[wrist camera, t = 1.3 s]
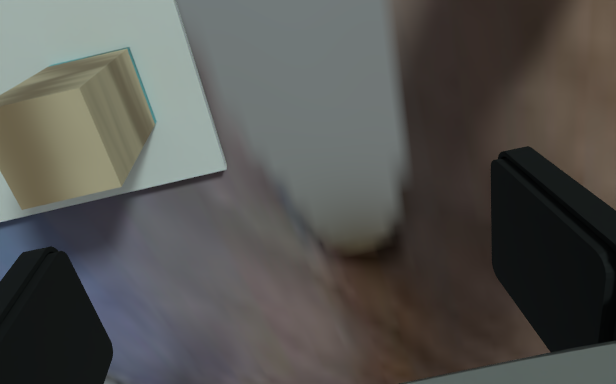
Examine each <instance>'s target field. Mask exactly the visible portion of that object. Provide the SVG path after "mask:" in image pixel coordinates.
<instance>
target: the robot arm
mask: <svg viewBox="0 0 616 384" xmlns="http://www.w3.org/2000/svg"><path fill="white" fill-rule="evenodd" d="M491 221H492V265H493V269H494V272H495V275H496V277H497V278H498V280H499V281H500V282H501V284H502V285H503V287H504V288H505V289H506V291H507V292H508V294H509V295H510V296H511V298H512V299H513V300H514V302H515V303H516V305H517V306H518V307H519V309H520V310H521V312H522V313H523V314H524V316H525V317H526V319H527V320H528V321H529V323H530V324H531V325H532V327H533V328H534V330H535V331H536V332H537V334H538V335H539V337H540V338H541V339H542V341H543V342H544V344H545V345H546V346H547V348H548V349H549V350H550V352H551V353H546V354H541V355H536V356H531V357H526V358H521V359H517V360H512V361H507V362H502V363H497V364H492V365H487V366H482V367H477V368H473V369H468V370H463V371H458V372H453V373H448V374H443V375H438V376H433V377H429V378H424V379H419V380H414V381H409V382H404V383H399V384H616V211H615V210H614V209H613V208H611V207H610V206H609V205H607V204H606V203H605V202H603V201H602V200H601V199H599V198H598V197H597V196H595V195H594V194H593V193H591V192H590V191H589V190H587V189H586V188H585V187H583V186H582V185H581V184H579V183H578V182H577V181H575V180H574V179H573V178H571V177H570V176H568V175H567V174H566V173H564V172H563V171H562V170H560V169H559V168H558V167H556V166H555V165H554V164H552V163H551V162H550V161H548V160H547V159H546V158H544V157H543V156H542V155H540V154H539V153H538V152H536V151H535V150H534V149H532V148H531V147H528V146H527V147H522V148H518V149H513V150H508V151H503V152H501V153H500V154H499V157H498V159H497V160H493V161H492V163H491ZM112 357H113V348H112V343H111V341H110V339H109V337H108V335H107V333H106V331H105V329H104V327H103V325H102V323H101V321H100V319H99V317H98V315H97V313H96V311H95V309H94V307H93V305H92V303H91V301H90V299H89V297H88V295H87V293H86V291H85V289H84V287H83V285H82V283H81V281H80V279H79V277H78V275H77V273H76V271H75V269H74V267H73V265H72V263H71V261H70V259H69V257H68V256H67V254H66V253H65V252H63V251H59V252H58V250H57V249H56V248H54V247H46V248H42V249H37V250H32V251H27V252H23V253H22V254H21V255H20V256H19V257H18V259H17V260H16V261H15V263H14V264H13V265H12V267H11V268H10V269H9V271H8V272H7V273H6V275H5V276H4V277H3V279H2V280H1V281H0V384H104V381H105V378H106V375H107V372H108V369H109V366H110V364H111V361H112Z"/></svg>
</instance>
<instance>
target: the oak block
mask: <svg viewBox="0 0 616 384" xmlns="http://www.w3.org/2000/svg"><path fill="white" fill-rule="evenodd" d="M156 122H157V121H156V118H155V116H154V113H153V110H152V107H151V105H150V102H149V99H148V97H147V94H146V91H145V88H144V86H143V83H142V80H141V77H140V75H139V72H138V69H137V67H136V64H135V61H134V58H133V56H132V53H131V50H130V47H126V48H122V49H118V50H113V51H109V52H105V53H101V54H96V55H92V56H88V57H83V58H79V59H75V60H70V61H66V62H62V63H57V64H53V65H50V66H48V67H47V68H45V69H43V70H42V71H40V72H38V73H37V74H35V75H33V76H32V77H30V78H28V79H27V80H25V81H23V82H21V83H20V84H18V85H16V86H15V87H13V88H11V89H10V90H8V91H6V92H5V93H3V94H1V95H0V171H1V173H2V175H3V177H4V179H5V180H6V182H7V184H8V186H9V188H10V189H11V191H12V193H13V195H14V197H15V199H16V200H17V202H18V204H19V206H20V208H21V209H22V210H24V209H28V208H33V207H37V206H41V205H46V204H50V203H54V202H59V201H63V200H67V199H71V198H76V197H80V196H84V195H89V194H93V193H97V192H102V191H106V190H110V189H115V188H119V187H122V185H123V183H124V182H125V180H126V178H127V176H128V174H129V172H130V170H131V169H132V167H133V165H134V163H135V161H136V159H137V157H138V156H139V154H140V152H141V150H142V148H143V146H144V144H145V143H146V141H147V139H148V137H149V135H150V133H151V131H152V130H153V128H154V126H155V124H156Z"/></svg>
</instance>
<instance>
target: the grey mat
mask: <svg viewBox="0 0 616 384" xmlns="http://www.w3.org/2000/svg"><path fill="white" fill-rule="evenodd" d="M126 47H130V50H131V53H132V56H133V58H134V61H135V64H136V67H137V69H138V72H139V75H140V77H141V80H142V83H143V86H144V88H145V91H146V94H147V97H148V99H149V102H150V105H151V107H152V110H153V113H154V116H155V118H156V121H157V122H156V124H155V126H154V128H153V130H152V131H151V133H150V135H149V137H148V139H147V141H146V143H145V144H144V146H143V148H142V150H141V152H140V154H139V156H138V157H137V159H136V161H135V163H134V165H133V167H132V169H131V170H130V172H129V174H128V176H127V178H126V180H125V182H124V183H123V185H122V187H119V188H115V189H110V190H106V191H102V192H97V193H93V194H89V195H84V196H80V197H76V198H71V199H67V200H63V201H59V202H54V203H50V204H46V205H41V206H37V207H33V208H28V209H24V210H22V209H21V208H20V206H19V204H18V202H17V200H16V199H15V197H14V195H13V193H12V191H11V189H10V188H9V186H8V184H7V182H6V180H5V179H4V177H3V175H2V173H1V171H0V222H3V221H7V220H12V219H16V218H20V217H25V216H29V215H33V214H38V213H42V212H46V211H50V210H55V209H59V208H63V207H68V206H72V205H76V204H81V203H85V202H89V201H94V200H98V199H102V198H106V197H111V196H115V195H119V194H124V193H128V192H132V191H137V190H141V189H145V188H150V187H154V186H158V185H162V184H167V183H171V182H175V181H180V180H184V179H188V178H193V177H197V176H201V175H206V174H210V173H214V172H218V171H223V170H226V169H227V164H226V161H225V157H224V154H223V151H222V148H221V145H220V141H219V138H218V135H217V132H216V128H215V125H214V122H213V119H212V116H211V112H210V109H209V106H208V103H207V99H206V96H205V93H204V90H203V87H202V83H201V80H200V77H199V74H198V70H197V67H196V64H195V61H194V58H193V54H192V51H191V48H190V45H189V41H188V38H187V35H186V32H185V29H184V25H183V22H182V19H181V16H180V12H179V9H178V6H177V3H176V0H0V95H1V94H3V93H5V92H6V91H8V90H10V89H11V88H13V87H15V86H16V85H18V84H20V83H21V82H23V81H25V80H27V79H28V78H30V77H32V76H33V75H35V74H37V73H38V72H40V71H42V70H43V69H45V68H47V67H48V66H50V65H53V64H57V63H62V62H66V61H70V60H75V59H79V58H83V57H88V56H92V55H96V54H101V53H105V52H109V51H113V50H118V49H122V48H126Z"/></svg>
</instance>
